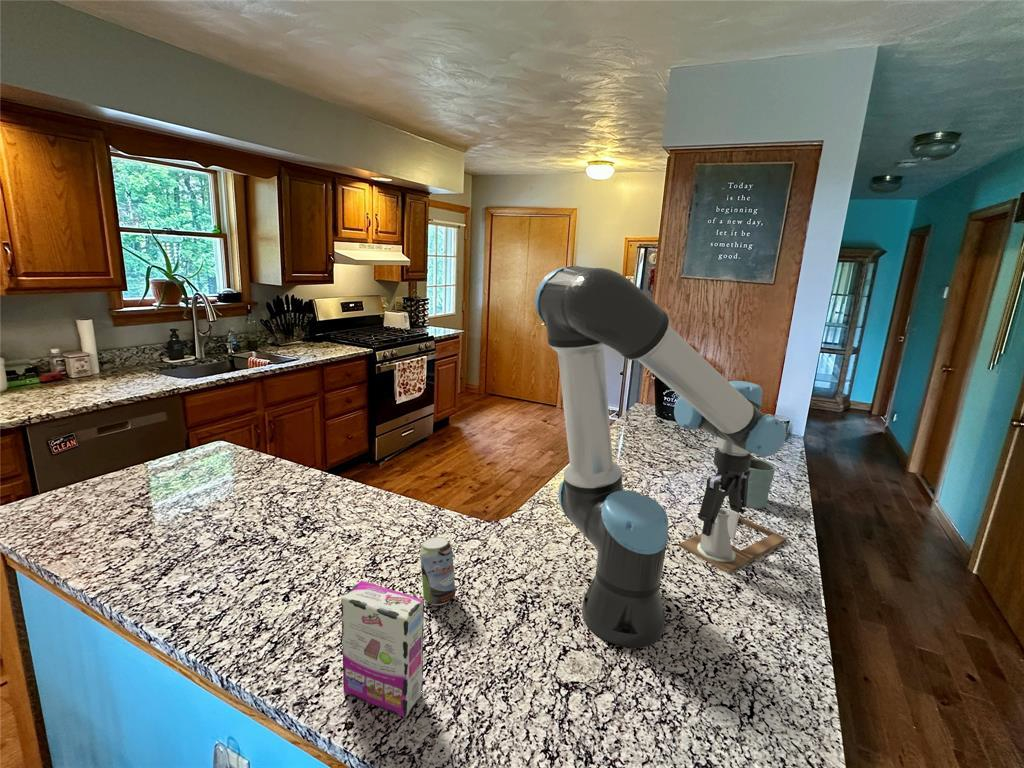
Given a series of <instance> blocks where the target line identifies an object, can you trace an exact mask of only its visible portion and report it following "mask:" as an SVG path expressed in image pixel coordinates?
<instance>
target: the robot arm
mask: <svg viewBox="0 0 1024 768" xmlns="http://www.w3.org/2000/svg"><path fill="white" fill-rule="evenodd" d="M534 306H535V311H536V313H537V315H538V317H539V318H540V321H542V323H543V324H545V326H546V327H545V328H546V336H547V342H548V343H547V344H548V347H550V349H552V350H553V351H554V352H556V354H557V360H558V370H559V378H560V387H561V394H562V404H563V413H564V422H565V424H564V425H565V431H566V432H565V433H566V442H567V452H568V460H569V465H568V466H567V467H565V469H564V471H563V481H561V482H560V483H559V487H558V494H557V495H558V502H559V506H560V508H561V510H562V511H563V513H564V515H565V517H566V518H567V519H568V520H569V522H571V523H572V524H573V525H574V527H576V528H577V529H578V530H579V531H580V532H581V534H582V535H583V536H584V537H585V538H586V539H587V540H588V542H590V543H591V544H592V545H593V547H594V548H595V549H596V551H597V555H596V556H597V557H596V559H597V560H596V565H595V566H596V569H595V575H594V576H593V579H592V580H591V583H590V584H589V587H588V588H587V590H586V592H585V595H584V596H583V600H582V607H581V616H582V618H583V621H584V623H585V625H586V626H587V628H589V630H590V631H591V632H592V633H594V635H596V636H597V637H599V638H601V640H604V641H606V642H609V643H610V644H613V645H616V646H620V647H625V648H643V647H648V646H650V645H653V644H655V643H656V642H658V641H659V640H660V639H661V638H662V636H663V633H664V629H665V623H666V614H665V611H664V607H663V602H662V596H661V592H660V591H661V590H660V589H661V587H660V586H661V580H662V575H663V574H662V573H663V569H664V562H665V556H666V551H667V544H668V540H669V519H668V518H669V517H668V514H667V512H666V511H665V509H664V507H663V506H662V505H661V504H660V503H659V502H658V501H657V500H656V499H654V498H652V497H650V496H649V495H646V494H645V495H643V494H641V493H640V492H638V491H633V490H624V488H623V478H622V477H623V475H622V469H621V467H620V465H618V464H617V463H616V462H614V460H613V458H614V457H613V447H612V436H611V424H610V421H611V420H610V413H609V410H610V409H609V399H608V398H609V397H608V386H607V375H606V362H605V347H606V346H607V347H609V348H611V349H613V350H615V351H616V352H618V353H619V354H620V355H621V356H622V357H623V358H624V359H626V360H628V361H635V360H636V361H638V362H639V363H640V364H641V365H643V367H645V368H646V369H647V370H648V371H650V372H651V373H652V374H653V375H654V376H656V378H658V379H659V380H660V381H661V382H662V383H664V385H666V386H667V388H669V389H671V391H673V392H674V393H675V394H676V395H677V396H679V397H678V398H677V399H676V401H675V402H674V410H673V415H674V419H675V421H676V423H677V425H678V426H679V427H681V428H682V429H684V430H692V431H697V430H702V431H704V432H707V433H709V434H711V435H713V436H715V437H716V443H715V446H716V447H715V450H714V455H713V465H715V466H716V468H717V471H716V473H715V476H714V477H713V478H712V477H710V476H709V477H707V479H706V487H705V491H704V495H703V499H702V502H701V506H700V509H699V512H698V515H697V518H698V519H699V520H700V521H703V524H702V525H703V526H702V529H701V530H702V531H701V532H702V536H701V542H700V544H701V545H702V546H704V547H706V548H708V549H710V550H712V549H713V544H714V538H715V532H716V526H717V523H716V522H715V520H716V518H717V515H718V513H719V511H720V509H722V505H723V503H724V500H725V498H726V497H728V503H729V508H727V509H726V510H727V511H728V512H730V515H729V517H728V520H727V524H728V533H729V538H730V539H732V540H734V539H736V536H737V535H736V534H737V530H738V525H739V522H738V519H739V516H740V513H741V514H743V515H744V514H745V512H746V508H747V507H746V505H747V492H748V479H749V475H750V470H749V468H750V462H751V458H753V457H752V455H751V454H753V455H757V456H759V457H761V458H768V457H772V456H773V455H776V454H777V453H778V452H779V451H780V449H781V448H782V446H783V445H784V444H785V441H786V438H787V430H786V427H785V424H784V423H783V421H781V420H780V419H778V418H775V417H773V415H771V414H766V413H764V412H762V411H761V408H762V405H763V404H762V402H763V388H762V386H761V385H759V384H757V383H753V382H751V381H744V380H730V381H728V380H727V379H726V378H725V377H724V376H723V375H722V374H721V373H720V372H719V371H718V370H717V369H716V368H714V366H712V365H711V363H709V362H708V361H707V360H706V359H705V358H704V357H703V356H702V355H701V354H700V353H699V352H698V351H697V350H696V349H695V348H693V346H692V345H690V344H689V342H687V341H686V340H685V339H684V338H683V337H682V336H681V335H680V334H679V333H678V332H677V331H676V330H675V329H674V328H673V327H672V326H670V325H671V319H670V316H669V315H668V314H667V313H666V312H665V310H663V309H662V308H661V306H659V305H658V304H657V303H656V302H655V301H654V300H653V299H652V298H650V296H649V295H648V294H647V293H645V292H644V290H642V289H641V288H640V287H638V286H637V285H636V284H634V282H633V281H631V280H630V279H628V278H627V277H625V276H624V275H622V274H621V273H619V272H617V271H615V270H612V269H610V268H604V267H587V266H579V265H573V266H571V265H570V266H569V265H568V266H564V267H559V268H556V269H554V270H552V271H551V272H549V273H548V274H547V275H545V276H544V278H542V281H540V283H539V285H538V287H537V289H536V292H535V297H534ZM741 500H742V501H741Z"/></svg>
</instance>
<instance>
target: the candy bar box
mask: <svg viewBox="0 0 1024 768" xmlns="http://www.w3.org/2000/svg"><path fill="white" fill-rule="evenodd" d="M340 601H341V606H340V607H341V637H342V638H341V640H342V641H341V642H342V643H341V644H342V674H343V675H342V677H343V678H342V681H343V684H342V685H343V687H342V688H343V693H345V694H346V695H349V696H350V697H353V698H356V699H358V700H361V701H363V702H365V703H368V704H371V705H374V706H376V707H379V708H380V709H383V710H385V711H388V712H390V713H392V714H395V715H396V716H397V715H398V716H399V717H402V718H405V719H406V718H407V717H408V715H409V714H410V713H411V712H412V710H413V708H414V707H415V705H416V704H417V703H418V702H419V700H420V698H421V697H422V696H423V689H424V688H423V684H424V683H423V682H424V681H423V680H424V679H423V678H424V677H423V676H424V675H423V673H424V630H425V629H424V626H425V625H424V624H425V623H424V621H425V614H424V613H425V600H424V598H423V599H422V598H420V597H416V596H413V595H410V594H406V593H402V592H399V591H396V590H393V589H390V588H387V587H384V586H381V585H378V584H374V583H371V582H368V581H366V580H360V581H359V582H358V583H357V584H355V586H353V587H352V588H351V589H350V590H349V591H348V592H346V593H345V594H344V595H343V596H342V597H341V598H340ZM421 691H422V692H421Z"/></svg>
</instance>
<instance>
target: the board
mask: <svg viewBox="0 0 1024 768" xmlns="http://www.w3.org/2000/svg"><path fill="white" fill-rule="evenodd" d="M738 523H742V524H743V525H746V526H747V527H750V528H751V529H753V530H756V531H758V532H761V533H762V534H764V535H766V537H764V538H763V539H761V540H758V541H757V542H754V543H753V544H750V545H749V546H747V547H745V548H743V549H741V550H740V549H739V548H737V547H735V546H734V545H731V547H732V556H731V558H718V557H715V556H711V555H708V554H706V553H705V552H704V551H703V550H702V549H701V547H700V546H701V544H700V542H701V536H702V531H701V533H700V534H697V535H695V536H692V537H691V538H688V539H686V540H684V541H682V542H679V543H678V547H680V548H682V549H684V550H686V551H688V552H689V553H691V554H692V555H694V556H696V557H698V558H699V559H702V560H704V561H705V562H707V563H709V564H710V565H712V566H713V567H716V568H717V569H719V570H721V571H723V572H725V573H726V574H730V573H732V572H734V571H736V570H738V569H739V568H741V567H743V566H745V565H747V564H749V563H750V562H752V561H754V560H756V559H758V558H760V557H761V556H763V555H765V554H767V553H768V552H771V551H773V550H774V549H776V548H777V547H778V548H779V547H780V546H783V544H785V543H787V541H788V537H785V536H783V535H781V534H779V533H778V532H776V531H775V532H774V531H772V530H770V529H768V528H766V527H763V526H761V525H760V524H757V523H755V522H753V521H751V520H748V519H746V518H744V517H741V516H740V515H739V519H738Z"/></svg>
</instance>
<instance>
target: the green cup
mask: <svg viewBox="0 0 1024 768" xmlns="http://www.w3.org/2000/svg"><path fill="white" fill-rule="evenodd" d="M749 470H750V475H749V479H748V492H747V505H746V507H745V508H750V509H757V510H758V509H764V508H766V506H767V503H768V500H769V494H770V493H769V492H770V491H771V485H772V483H773V479H774V475H775V472H776V466H775V465H774V464H773V463H771V462H770V461H767V460H763V459H760V458H756V457H751V462H750V468H749ZM741 501H742V500H741Z"/></svg>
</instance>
